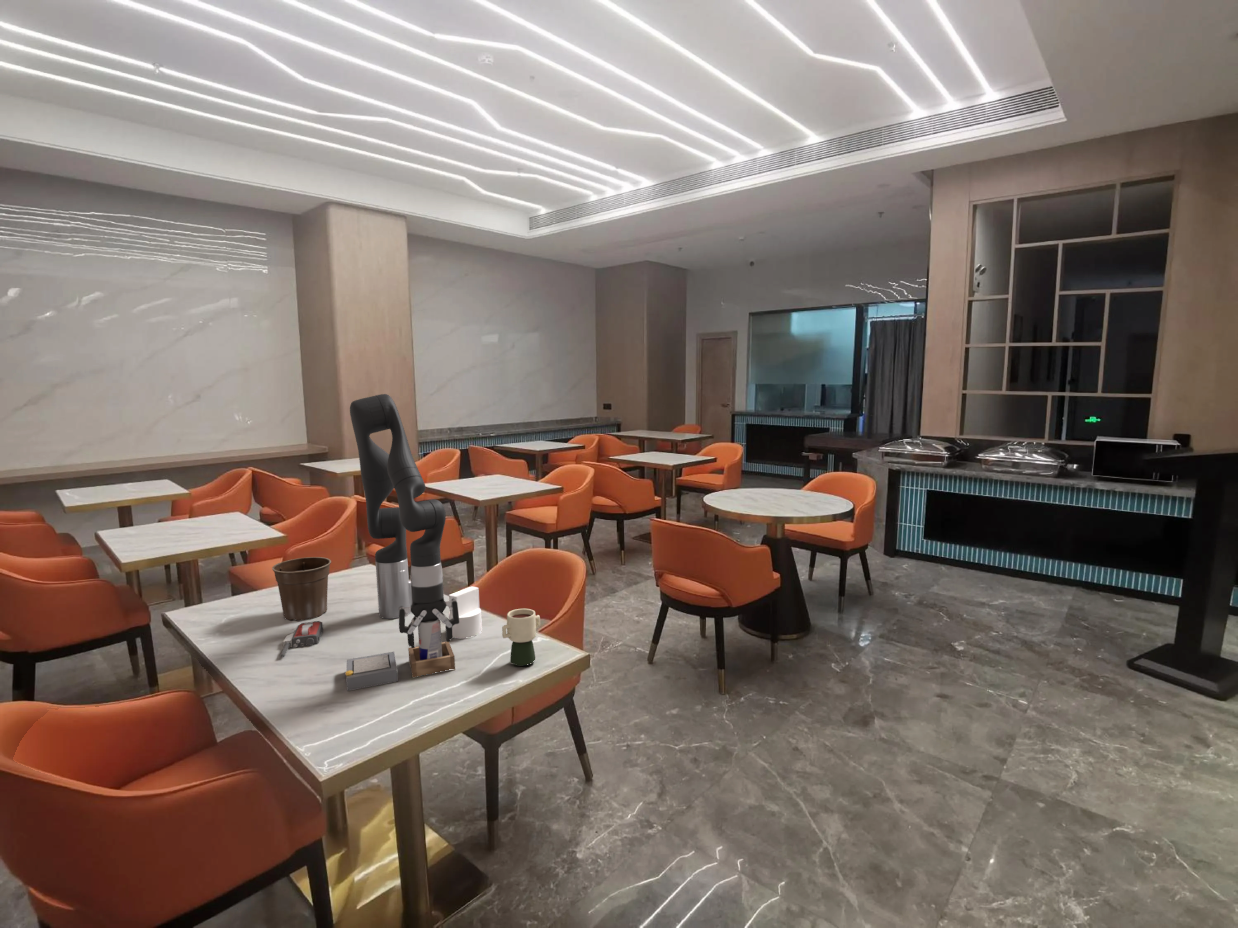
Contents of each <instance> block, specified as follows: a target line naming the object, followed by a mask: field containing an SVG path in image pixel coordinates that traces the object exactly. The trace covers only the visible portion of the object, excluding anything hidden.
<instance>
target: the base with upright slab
mask: <svg viewBox="0 0 1238 928" xmlns="http://www.w3.org/2000/svg"><path fill="white" fill-rule="evenodd" d="M479 589H480V588H479V587H477V586H468V587H466V588H463V589H461V590H459V591H456V592H453V593H451V594H450V593H449V594H448V601H451V600H452V599H456V601H457V605H458V614H459V623H458V624H455V625H453V627H452V636H453V637H452V638H454V637H455V638H454V639H461V638H462V639H467V638H466V637H471V636H474V637H476V636H475V635H477V634H479V635H481V633H482V632H483V621H482V609H481V608H480V590H479ZM448 619H449V620H451V619H453V614H452V610H451V609H449V612H448ZM481 631H482V632H481ZM477 636H478V635H477ZM471 638H472V637H471Z"/></svg>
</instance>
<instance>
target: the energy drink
mask: <svg viewBox="0 0 1238 928" xmlns="http://www.w3.org/2000/svg"><path fill="white" fill-rule="evenodd" d="M441 627H442V626H441V620H440V619H439V618H438V619H437V620H436V621H428V622H424V623H423V622H420V623H419V625H418V626H417V633H418V636H417V637H418V646H419V653H420V661H421V660H426V659H432V658H437V657H442V643H441V642H442V628H441Z"/></svg>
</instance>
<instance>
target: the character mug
mask: <svg viewBox="0 0 1238 928" xmlns="http://www.w3.org/2000/svg"><path fill="white" fill-rule="evenodd" d="M540 627H541V617H540V615H539V614H537V615H536V611H535V610H533V609H530V608H518V609H517V608H516V609H513V610H510V611H508V612H507V613H506V624H504V625H502V627H501V632H502V633H501V634H502V638H503V639H509V641H511V642H512V643H511V647H510V659H509V661H510V662H509V663H511V664H512V665H515V666H521V667H522V666H523V665H527V664H530V663H532V662H533V661H534V660H535V661H536V654H535V653H536V652H535V648H534V642H533V640H534V639H535V638H536V637H537V636H536V635H537V629H538V628H540ZM533 663H534V662H533ZM533 663H532V664H533ZM530 665H531V664H530ZM523 667H524V666H523Z"/></svg>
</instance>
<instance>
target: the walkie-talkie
mask: <svg viewBox="0 0 1238 928" xmlns="http://www.w3.org/2000/svg"><path fill="white" fill-rule="evenodd" d="M323 624H324V623H323V622H322V621H320V620H315V621H314V620H313V621H306V622H301V623H299V624H298V625H297V626H296V630H294V632H292V633H290V634H287V635H286V636H285V638H284V640H283V642H282V646H283V647H282V648H283V649H282V651H281V652H280V657H281V658H285V656H286V654H287V651H288V649H290V648H298V647H299V648H300V647H307V646H315V645H318V644H320V640H321V637H322V635H323V631H324V625H323Z"/></svg>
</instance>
